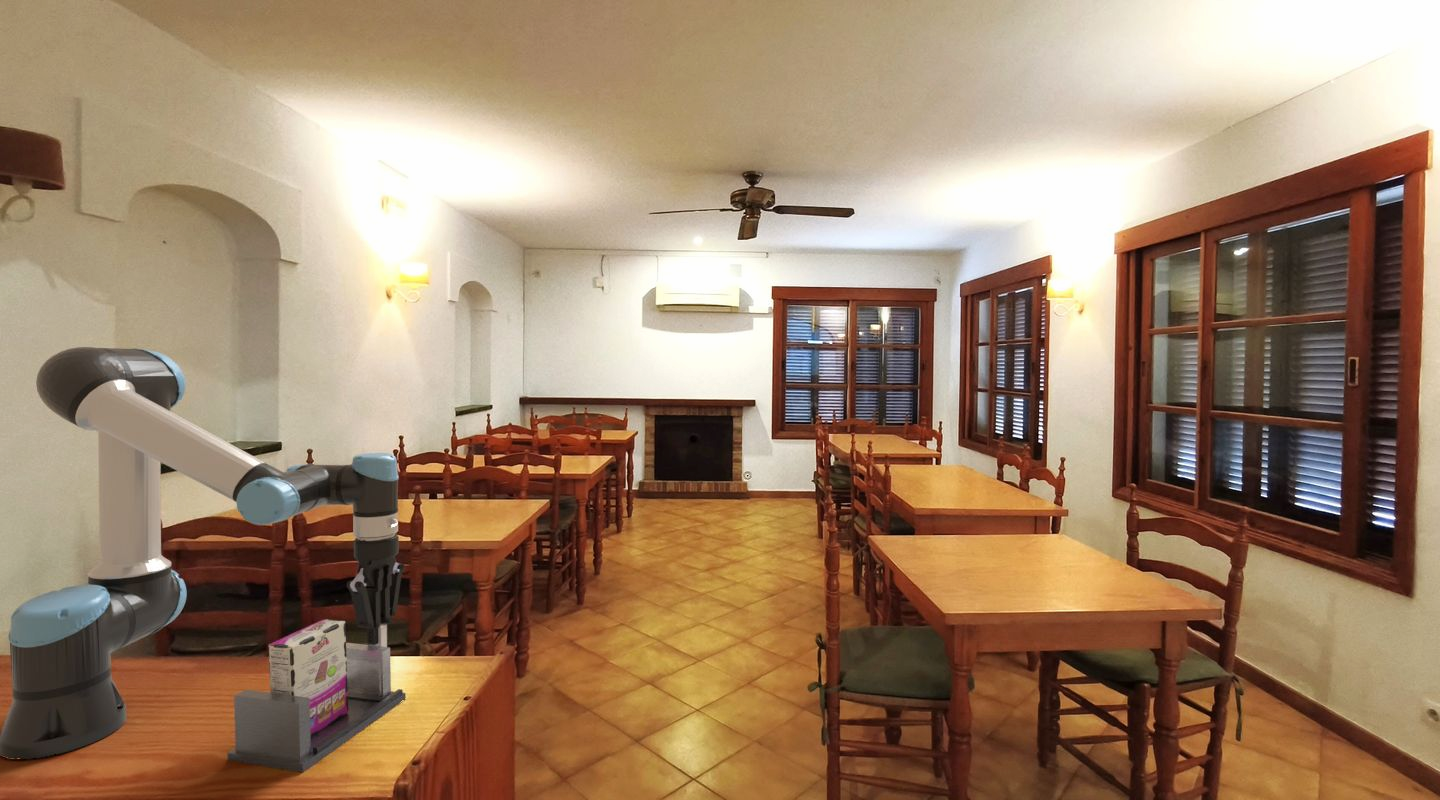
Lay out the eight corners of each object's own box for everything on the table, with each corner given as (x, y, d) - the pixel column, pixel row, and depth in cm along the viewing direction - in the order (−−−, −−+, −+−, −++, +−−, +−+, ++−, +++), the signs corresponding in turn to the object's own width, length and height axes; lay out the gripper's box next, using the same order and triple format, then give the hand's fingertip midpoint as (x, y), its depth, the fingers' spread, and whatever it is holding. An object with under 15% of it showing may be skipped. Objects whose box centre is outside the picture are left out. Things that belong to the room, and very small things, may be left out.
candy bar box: (325, 709, 117) (323, 617, 116) (349, 712, 116) (347, 620, 115) (269, 744, 106) (266, 643, 105) (294, 748, 105) (292, 646, 104)
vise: (227, 760, 104) (225, 696, 103) (341, 691, 126) (340, 638, 126) (303, 772, 101) (301, 706, 100) (405, 699, 123) (404, 645, 123)
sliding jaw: (330, 694, 121) (329, 646, 121) (362, 675, 129) (361, 630, 129) (382, 701, 119) (381, 652, 119) (411, 681, 127) (411, 635, 126)
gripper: (368, 545, 118) (370, 676, 119) (416, 528, 130) (417, 646, 131) (332, 543, 119) (334, 671, 120) (383, 526, 132) (384, 643, 133)
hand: (378, 658), depth 126 cm, fingers closed
